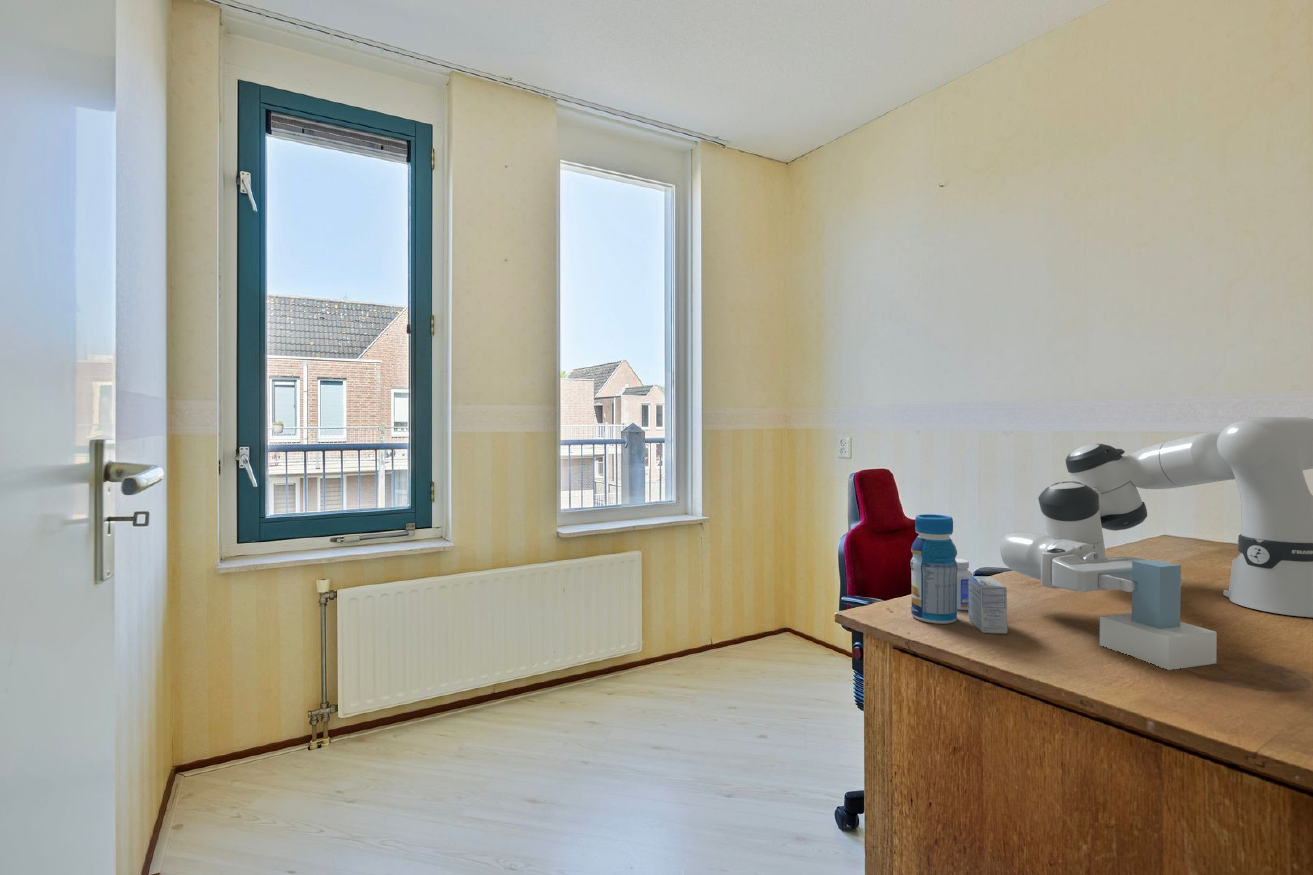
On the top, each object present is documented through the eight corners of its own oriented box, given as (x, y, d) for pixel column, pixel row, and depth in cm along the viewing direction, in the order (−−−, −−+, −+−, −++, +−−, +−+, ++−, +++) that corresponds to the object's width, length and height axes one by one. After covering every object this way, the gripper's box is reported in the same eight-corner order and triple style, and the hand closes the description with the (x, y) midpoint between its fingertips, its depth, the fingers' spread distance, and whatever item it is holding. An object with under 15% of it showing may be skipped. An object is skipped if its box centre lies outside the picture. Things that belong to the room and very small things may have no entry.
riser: (1144, 639, 106) (1144, 611, 106) (1216, 663, 95) (1216, 631, 95) (1099, 645, 104) (1099, 616, 103) (1168, 670, 93) (1168, 637, 93)
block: (1151, 618, 102) (1152, 559, 102) (1180, 626, 98) (1180, 565, 98) (1131, 620, 101) (1132, 561, 101) (1159, 629, 97) (1160, 566, 97)
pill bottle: (972, 604, 127) (972, 558, 127) (973, 611, 122) (973, 564, 122) (943, 601, 130) (943, 556, 129) (943, 608, 125) (943, 561, 125)
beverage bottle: (941, 628, 113) (941, 521, 112) (901, 616, 120) (901, 515, 120) (966, 619, 117) (967, 517, 117) (927, 609, 125) (927, 512, 124)
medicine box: (1007, 634, 109) (1008, 587, 109) (980, 633, 110) (981, 585, 110) (992, 621, 117) (992, 576, 117) (967, 619, 118) (967, 575, 118)
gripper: (1121, 578, 115) (1203, 598, 102) (1034, 586, 110) (1109, 609, 97) (1122, 545, 115) (1204, 561, 102) (1034, 552, 110) (1109, 569, 96)
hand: (1157, 584), depth 99 cm, fingers open, 8 cm apart
